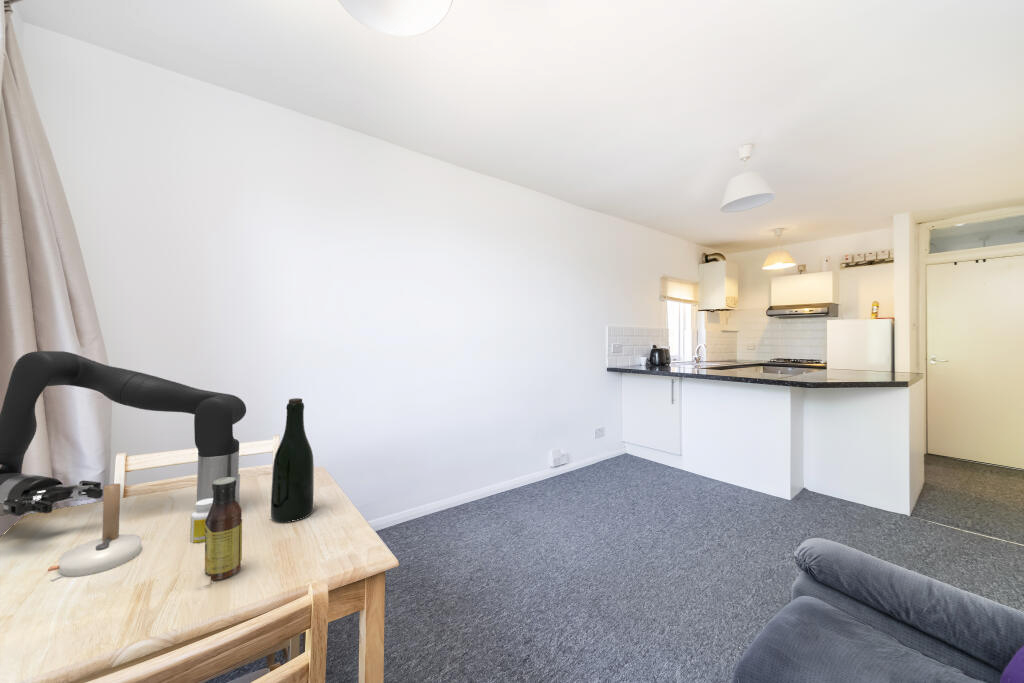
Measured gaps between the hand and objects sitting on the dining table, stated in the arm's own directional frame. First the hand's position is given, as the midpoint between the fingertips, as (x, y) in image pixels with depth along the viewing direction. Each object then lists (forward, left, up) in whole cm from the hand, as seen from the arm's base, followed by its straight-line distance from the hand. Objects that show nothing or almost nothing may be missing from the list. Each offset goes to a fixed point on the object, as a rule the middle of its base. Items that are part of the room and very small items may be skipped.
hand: (76, 500), depth 88 cm
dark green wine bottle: (-44, +1, -11) cm, 45 cm away
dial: (-9, +12, -10) cm, 18 cm away
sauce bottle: (-33, +26, -11) cm, 43 cm away
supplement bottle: (-26, +9, -11) cm, 30 cm away
